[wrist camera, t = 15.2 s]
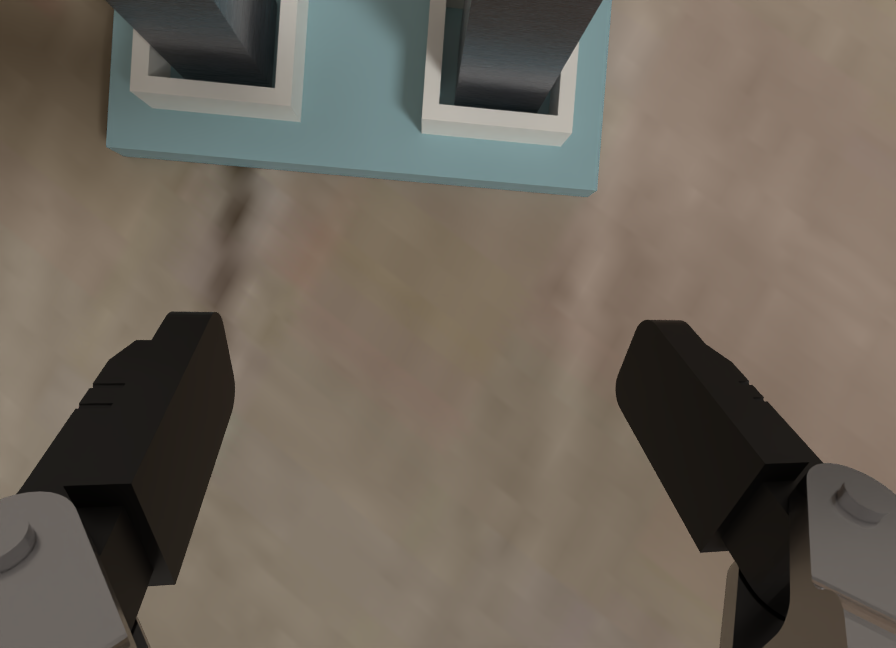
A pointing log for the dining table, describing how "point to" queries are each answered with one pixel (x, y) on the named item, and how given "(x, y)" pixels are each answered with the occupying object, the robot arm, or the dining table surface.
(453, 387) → the dining table surface
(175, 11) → the seated billet
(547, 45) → the loose billet
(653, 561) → the dining table surface
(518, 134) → the pallet
